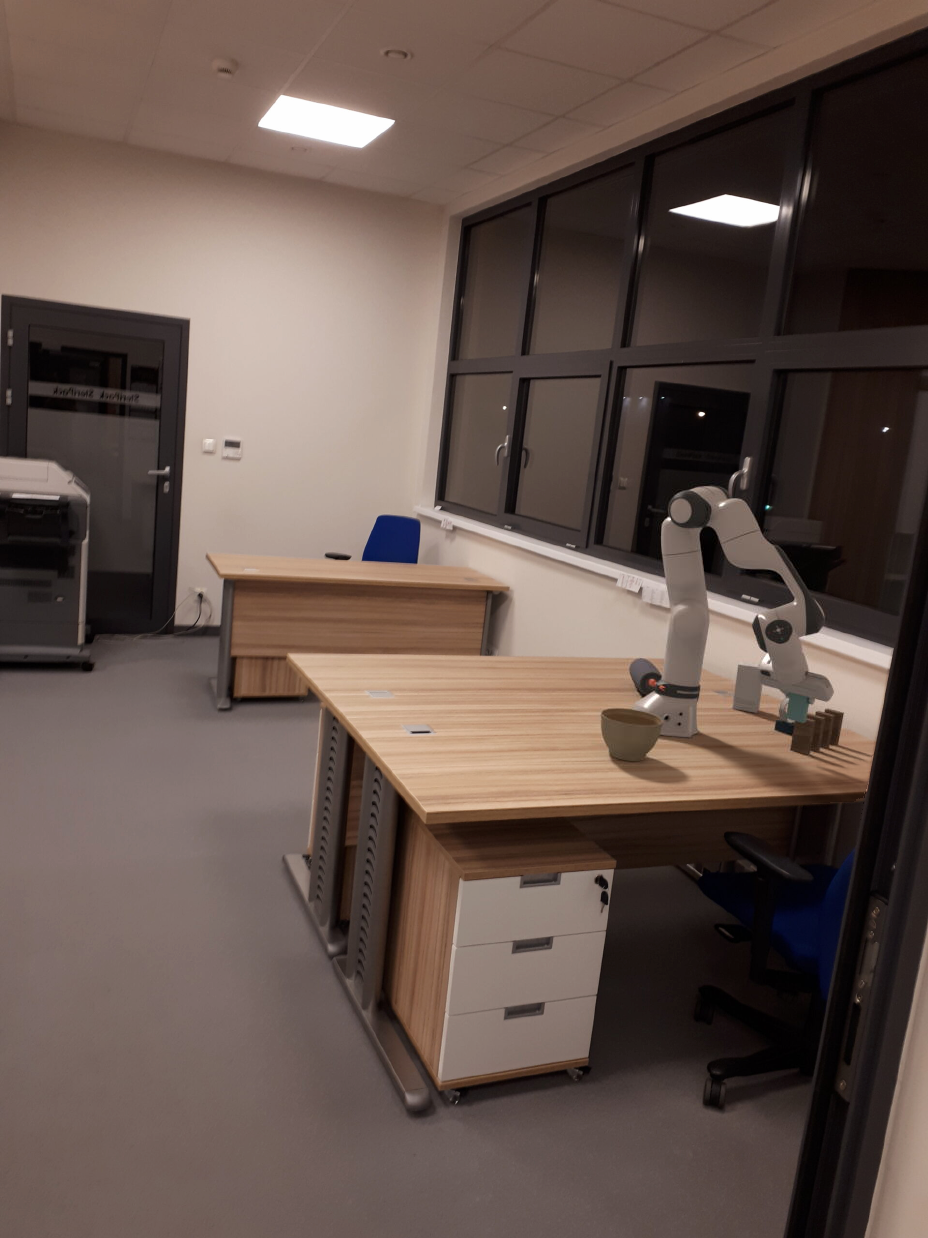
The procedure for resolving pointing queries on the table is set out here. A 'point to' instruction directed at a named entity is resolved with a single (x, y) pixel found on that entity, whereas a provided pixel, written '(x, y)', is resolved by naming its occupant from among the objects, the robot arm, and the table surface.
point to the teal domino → (797, 708)
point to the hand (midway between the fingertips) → (800, 699)
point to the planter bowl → (629, 732)
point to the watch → (784, 720)
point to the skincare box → (747, 688)
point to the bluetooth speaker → (644, 675)
